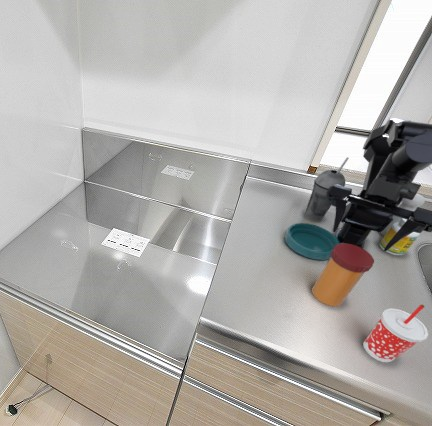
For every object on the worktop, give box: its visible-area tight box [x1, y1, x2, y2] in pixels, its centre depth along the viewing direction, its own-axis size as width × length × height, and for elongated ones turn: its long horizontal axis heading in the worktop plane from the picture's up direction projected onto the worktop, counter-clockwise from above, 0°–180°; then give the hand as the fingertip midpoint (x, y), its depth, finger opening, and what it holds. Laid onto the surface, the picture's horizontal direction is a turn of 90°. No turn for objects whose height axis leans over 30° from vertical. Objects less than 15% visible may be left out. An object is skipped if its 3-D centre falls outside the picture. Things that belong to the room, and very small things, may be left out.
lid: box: [331, 243, 375, 273], centre depth 59 cm, size 7×7×2 cm
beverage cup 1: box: [304, 157, 350, 222], centre depth 83 cm, size 7×7×20 cm
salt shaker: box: [380, 193, 426, 237], centre depth 78 cm, size 6×6×13 cm
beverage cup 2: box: [362, 304, 429, 363], centre depth 52 cm, size 6×6×14 cm
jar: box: [311, 257, 365, 307], centre depth 63 cm, size 6×6×12 cm
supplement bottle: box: [379, 218, 421, 256], centre depth 75 cm, size 5×5×10 cm
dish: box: [284, 222, 340, 261], centre depth 78 cm, size 12×12×3 cm
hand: (358, 241), depth 64 cm, fingers open, 9 cm apart
